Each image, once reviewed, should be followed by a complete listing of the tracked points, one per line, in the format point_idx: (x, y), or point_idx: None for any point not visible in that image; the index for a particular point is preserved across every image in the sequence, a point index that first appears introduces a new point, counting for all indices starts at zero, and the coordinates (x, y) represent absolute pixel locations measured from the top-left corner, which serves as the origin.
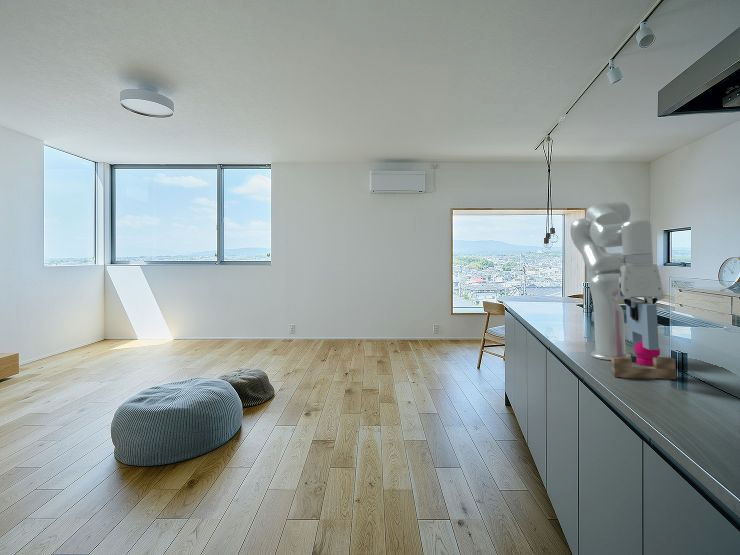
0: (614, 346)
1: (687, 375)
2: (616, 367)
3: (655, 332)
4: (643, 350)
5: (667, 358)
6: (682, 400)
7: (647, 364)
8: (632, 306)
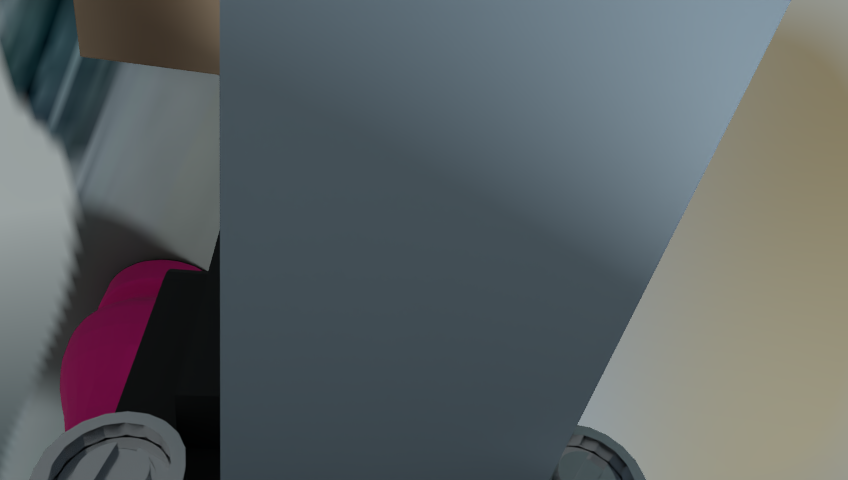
0: None
1: (7, 35)
2: None
3: None
4: None
5: (130, 14)
6: None
7: (187, 268)
8: (593, 463)
